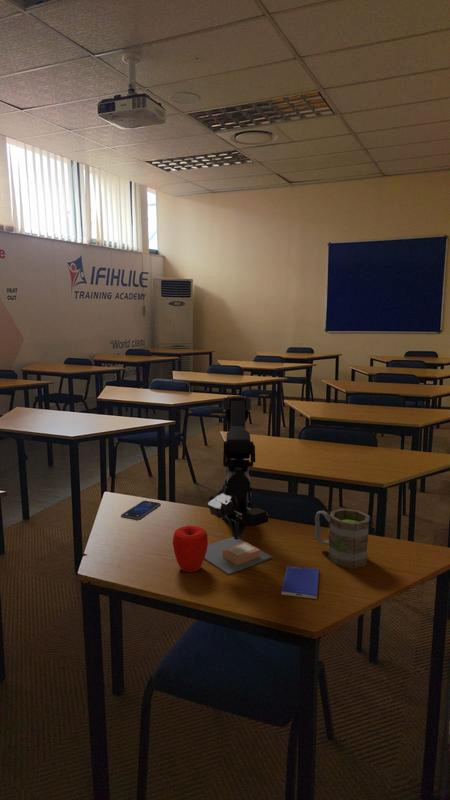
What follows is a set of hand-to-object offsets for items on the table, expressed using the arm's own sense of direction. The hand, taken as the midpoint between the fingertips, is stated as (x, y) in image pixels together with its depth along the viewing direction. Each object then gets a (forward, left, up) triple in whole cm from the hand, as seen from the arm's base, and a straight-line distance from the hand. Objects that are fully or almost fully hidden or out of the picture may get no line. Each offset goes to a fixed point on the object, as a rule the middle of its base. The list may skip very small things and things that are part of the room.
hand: (236, 539), depth 136 cm
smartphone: (+5, -44, -5) cm, 44 cm away
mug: (-22, +17, -5) cm, 28 cm away
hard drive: (-3, +21, -5) cm, 22 cm away
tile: (0, -1, -3) cm, 3 cm away
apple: (+14, -2, -5) cm, 15 cm away
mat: (+1, -1, -4) cm, 5 cm away
